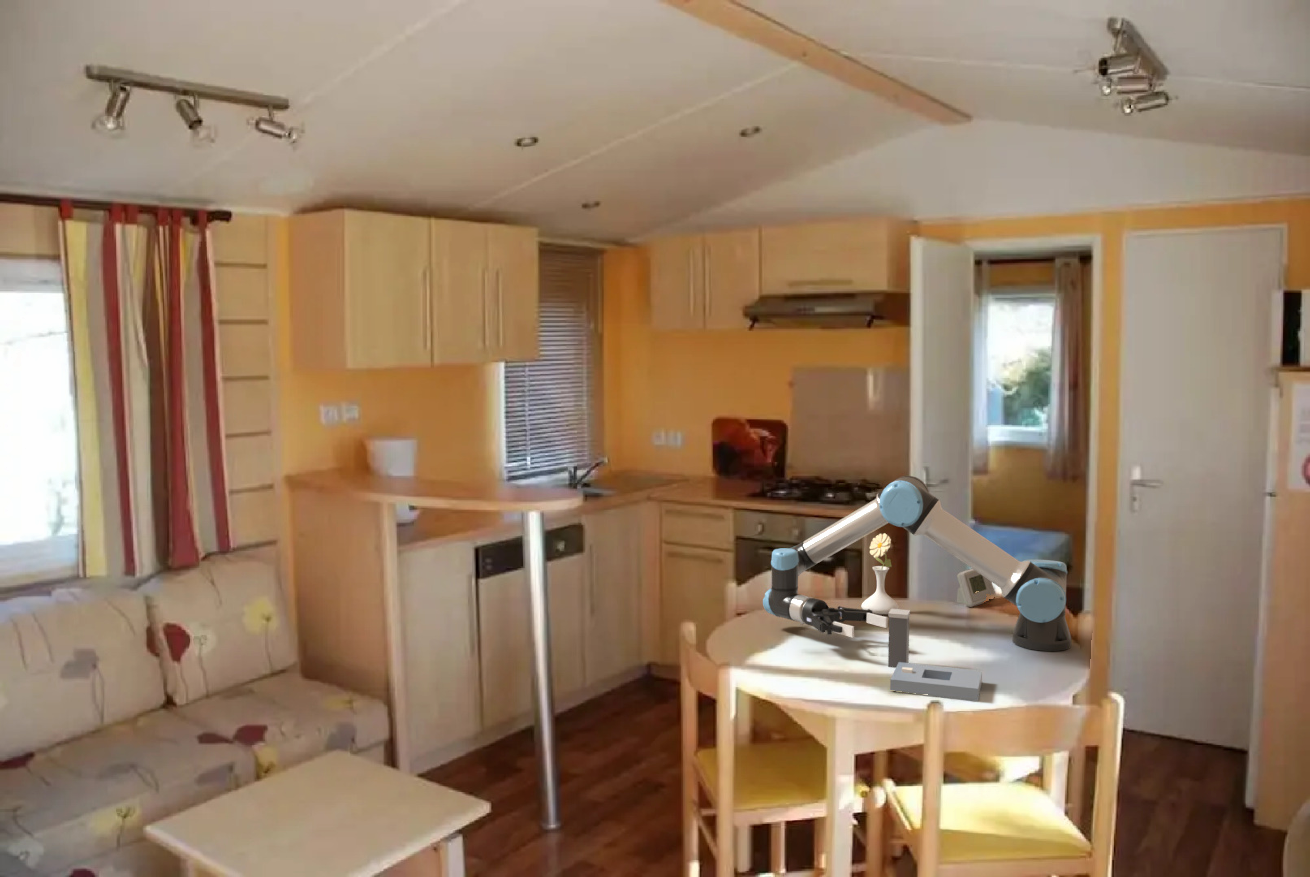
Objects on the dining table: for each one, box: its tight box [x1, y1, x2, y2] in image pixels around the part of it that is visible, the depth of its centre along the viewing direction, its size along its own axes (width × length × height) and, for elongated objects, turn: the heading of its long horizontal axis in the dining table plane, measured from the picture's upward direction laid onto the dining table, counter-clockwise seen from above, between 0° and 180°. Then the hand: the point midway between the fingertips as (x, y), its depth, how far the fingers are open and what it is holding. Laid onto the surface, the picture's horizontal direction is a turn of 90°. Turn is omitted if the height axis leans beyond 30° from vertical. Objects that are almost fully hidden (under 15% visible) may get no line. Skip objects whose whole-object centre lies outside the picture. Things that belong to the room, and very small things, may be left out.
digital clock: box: [956, 567, 996, 608], centre depth 336 cm, size 16×9×11 cm, turn 123°
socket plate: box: [889, 662, 983, 702], centre depth 257 cm, size 20×14×4 cm
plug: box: [887, 608, 911, 669], centre depth 274 cm, size 5×5×14 cm
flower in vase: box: [860, 532, 900, 615], centre depth 323 cm, size 13×11×25 cm
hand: (870, 627), depth 280 cm, fingers open, 13 cm apart
